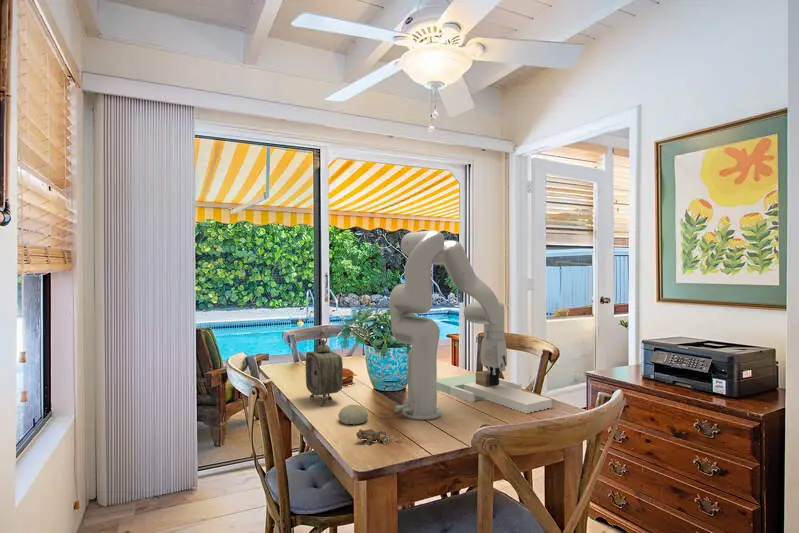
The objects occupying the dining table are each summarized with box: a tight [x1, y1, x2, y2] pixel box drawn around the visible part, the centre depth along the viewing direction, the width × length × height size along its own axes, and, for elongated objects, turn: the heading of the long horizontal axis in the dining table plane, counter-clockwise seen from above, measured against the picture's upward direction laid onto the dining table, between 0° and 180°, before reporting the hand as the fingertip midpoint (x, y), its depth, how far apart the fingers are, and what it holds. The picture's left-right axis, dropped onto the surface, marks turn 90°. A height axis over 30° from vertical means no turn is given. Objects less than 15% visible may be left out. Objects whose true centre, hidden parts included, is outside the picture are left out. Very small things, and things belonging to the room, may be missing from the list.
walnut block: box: [475, 369, 496, 387], centre depth 187 cm, size 6×6×4 cm
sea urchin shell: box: [337, 404, 369, 425], centre depth 153 cm, size 9×8×8 cm
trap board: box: [437, 372, 553, 414], centre depth 182 cm, size 25×44×3 cm, turn 32°
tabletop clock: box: [305, 331, 344, 407], centre depth 175 cm, size 14×9×25 cm, turn 29°
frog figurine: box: [355, 428, 389, 446], centre depth 137 cm, size 12×12×4 cm
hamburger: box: [342, 367, 358, 386], centre depth 200 cm, size 9×10×7 cm
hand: (494, 384), depth 182 cm, fingers closed
